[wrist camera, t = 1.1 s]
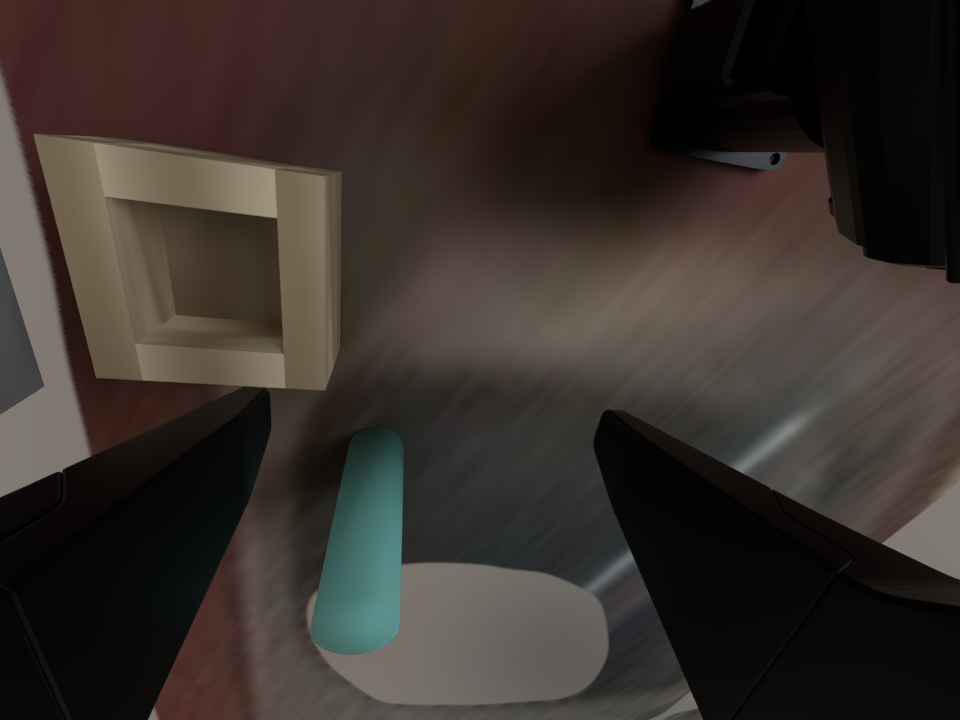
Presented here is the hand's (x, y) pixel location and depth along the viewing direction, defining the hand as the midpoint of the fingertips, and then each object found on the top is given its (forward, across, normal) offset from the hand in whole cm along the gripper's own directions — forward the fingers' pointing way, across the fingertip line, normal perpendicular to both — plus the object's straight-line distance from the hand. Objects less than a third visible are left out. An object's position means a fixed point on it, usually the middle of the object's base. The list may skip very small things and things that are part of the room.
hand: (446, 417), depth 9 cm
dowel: (+12, +2, +10) cm, 16 cm away
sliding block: (+12, +8, 0) cm, 14 cm away
